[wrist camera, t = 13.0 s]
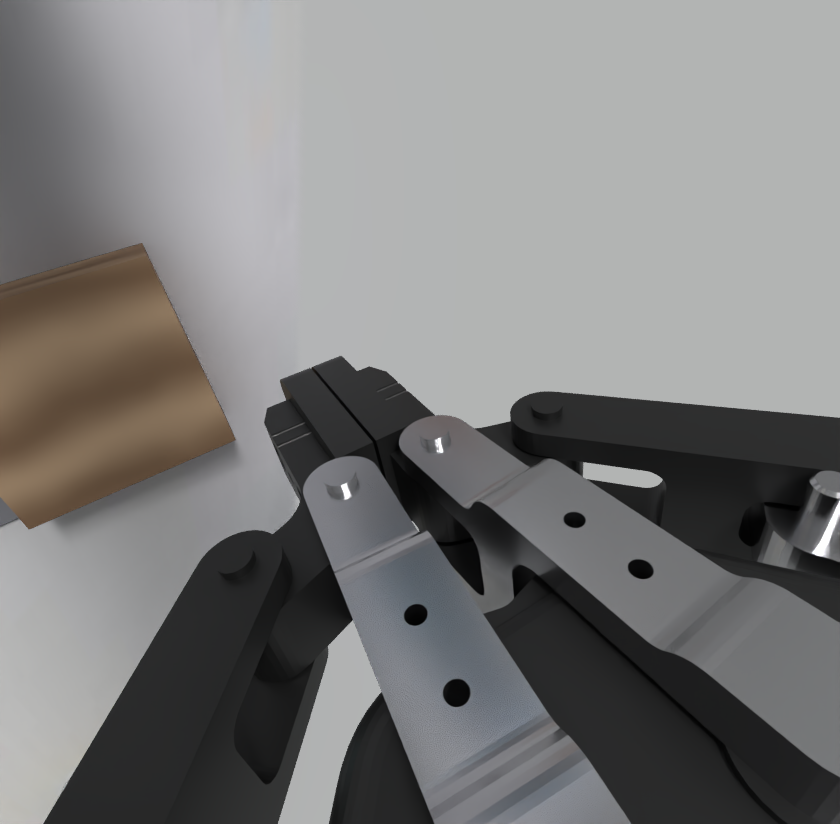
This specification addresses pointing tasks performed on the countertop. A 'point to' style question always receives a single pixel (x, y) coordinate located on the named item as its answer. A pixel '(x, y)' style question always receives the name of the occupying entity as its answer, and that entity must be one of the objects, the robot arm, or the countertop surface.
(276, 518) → the countertop surface
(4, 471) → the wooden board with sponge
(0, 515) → the mat
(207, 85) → the countertop surface
